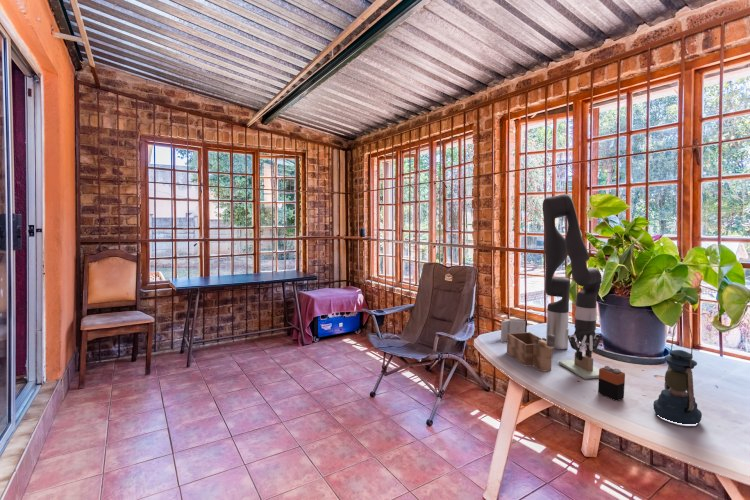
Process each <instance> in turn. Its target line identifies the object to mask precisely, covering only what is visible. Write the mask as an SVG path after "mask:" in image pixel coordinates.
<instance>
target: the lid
mask: <svg viewBox="0 0 750 500" xmlns="http://www.w3.org/2000/svg"><path fill="white" fill-rule="evenodd" d="M558 364H559V365H561V366H563V367H564V368H566V369H567V370H569V371H571V372H572V373H575V375H577V376H579V377H581V378H582V379H585V380H586V379H599V369H600V368H599V367H597V366H596V365H594V358H593V357H589V356H587V355H585V353H583V352H582V360H578V359H577V358H576V351H574V359H566V360H558Z"/></svg>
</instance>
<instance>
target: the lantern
mask: <svg viewBox="0 0 750 500" xmlns="http://www.w3.org/2000/svg"><path fill="white" fill-rule="evenodd" d="M686 309H687V308H686V307H683V309H682V311H681V313H680V315H679V316H678V319H677V321H676V323H675V325H674V327H673V330H672V338H671V347H670V351H669V355H665V356H664V361H666V362H665V363H666V364H667V370H666V371H665V375H664V389H661V392H660V394H659V395H658V399H655V400H654V401H653V410H654V413H655V415H656V414H657V415H659V416H660V417H662V418H665V419H667V420H670V421H673V422H677V423H682V424H696V423H699V422H701V421H702V416H703V415H702V414H703V413H702V411H701V410H700V409H698V403H697V402H696V398H695V393H694V391H695V390H694V379H693V378H694V377H693V376H694V375H693V369H695V367H696V366H697V365H698V362H697V360H694V359H693V356H694V355H693V348H694V347H693V344H694V339H693V333H692V330H691V325H690V322H689V318H688V314H687V310H686ZM683 313H685V317H686V321H687V325H688V328H689V334H690V337H691V352H688V351H686V350H683V349H674V350H673V344H674V336H675V335H674V334H675V329H676V327H677V324H678V322H679V320H680V319H681V317H682V314H683ZM657 415H656V416H657ZM699 424H700V423H699Z"/></svg>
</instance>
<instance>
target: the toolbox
mask: <svg viewBox="0 0 750 500" xmlns="http://www.w3.org/2000/svg"><path fill="white" fill-rule="evenodd" d="M538 340H544V341H546V338H545V337H542V338H541V337H539V336H538V335H535V334H533V333H532V332H530V331H529V332H526V333H507V341H506V354H508V355H509V356H511V357H512V358H514V359H515V360H516V361H518V362H519V363H520V364H522V365H523V366H524V367H532V366H533V367H534V368H536V369H537V370H538V371H540V372H549V371H552V354H553V353H552V352H553V349H548V348H547V347H545V346H543V345H541V344H540V343H538ZM546 342H547V341H546Z"/></svg>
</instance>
